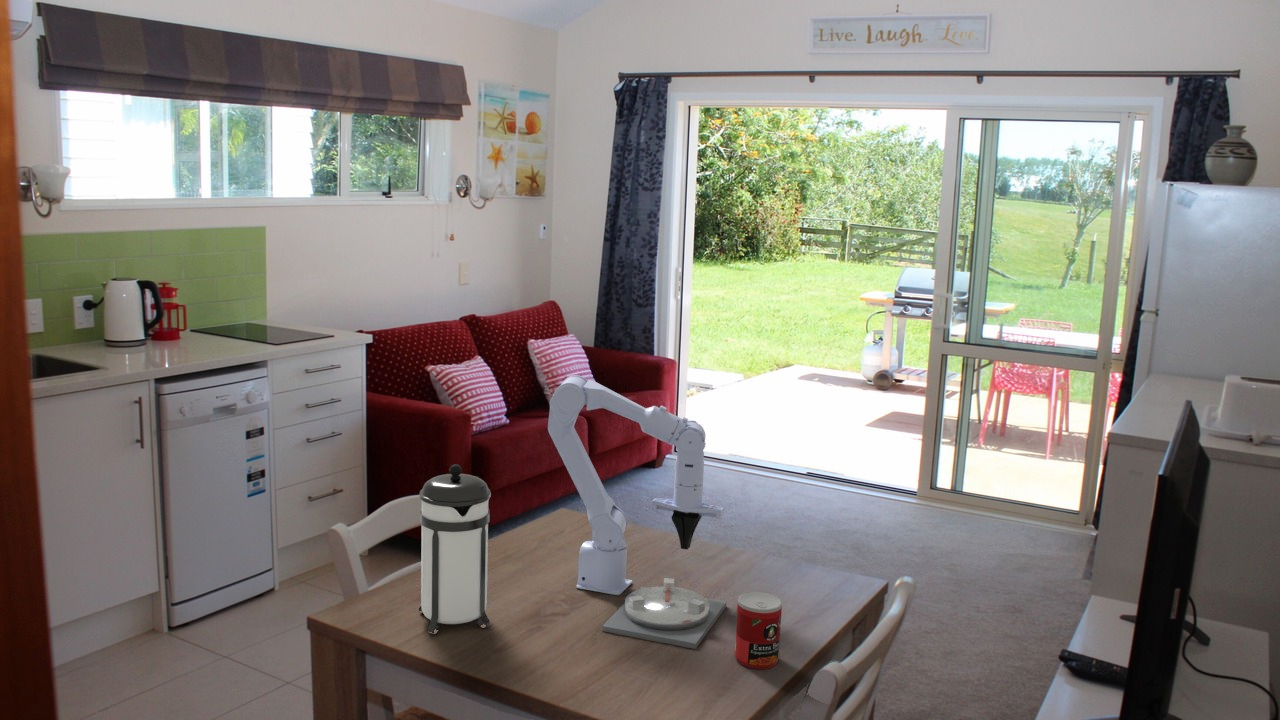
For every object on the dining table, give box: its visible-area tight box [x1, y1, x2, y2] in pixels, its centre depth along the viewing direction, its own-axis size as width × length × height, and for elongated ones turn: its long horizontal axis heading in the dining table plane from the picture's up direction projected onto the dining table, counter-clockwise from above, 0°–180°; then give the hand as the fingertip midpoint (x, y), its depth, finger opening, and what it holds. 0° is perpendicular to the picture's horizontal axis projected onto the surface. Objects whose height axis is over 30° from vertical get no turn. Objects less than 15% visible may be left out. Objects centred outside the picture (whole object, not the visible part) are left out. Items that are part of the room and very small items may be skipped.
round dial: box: [624, 577, 709, 630], centre depth 196 cm, size 16×16×4 cm
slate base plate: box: [601, 586, 727, 650], centre depth 197 cm, size 18×21×1 cm
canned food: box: [734, 591, 783, 670], centre depth 180 cm, size 8×8×11 cm
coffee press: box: [418, 463, 492, 633], centre depth 191 cm, size 17×16×30 cm
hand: (685, 547), depth 208 cm, fingers closed
